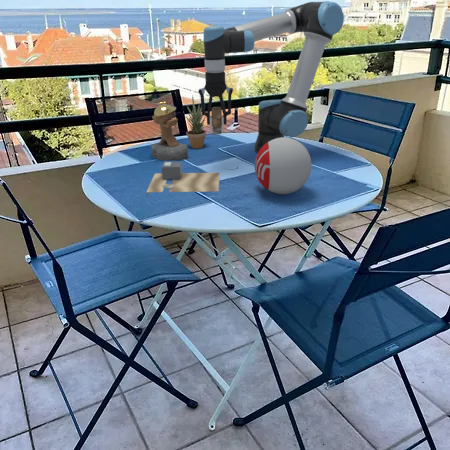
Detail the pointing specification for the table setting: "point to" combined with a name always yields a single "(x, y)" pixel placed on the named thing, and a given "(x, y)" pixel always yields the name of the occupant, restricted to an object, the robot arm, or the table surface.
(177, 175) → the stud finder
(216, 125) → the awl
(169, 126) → the figurine
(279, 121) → the robot arm
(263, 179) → the decorative sphere
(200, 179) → the board
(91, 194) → the table surface
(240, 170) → the table surface
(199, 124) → the potted plant
